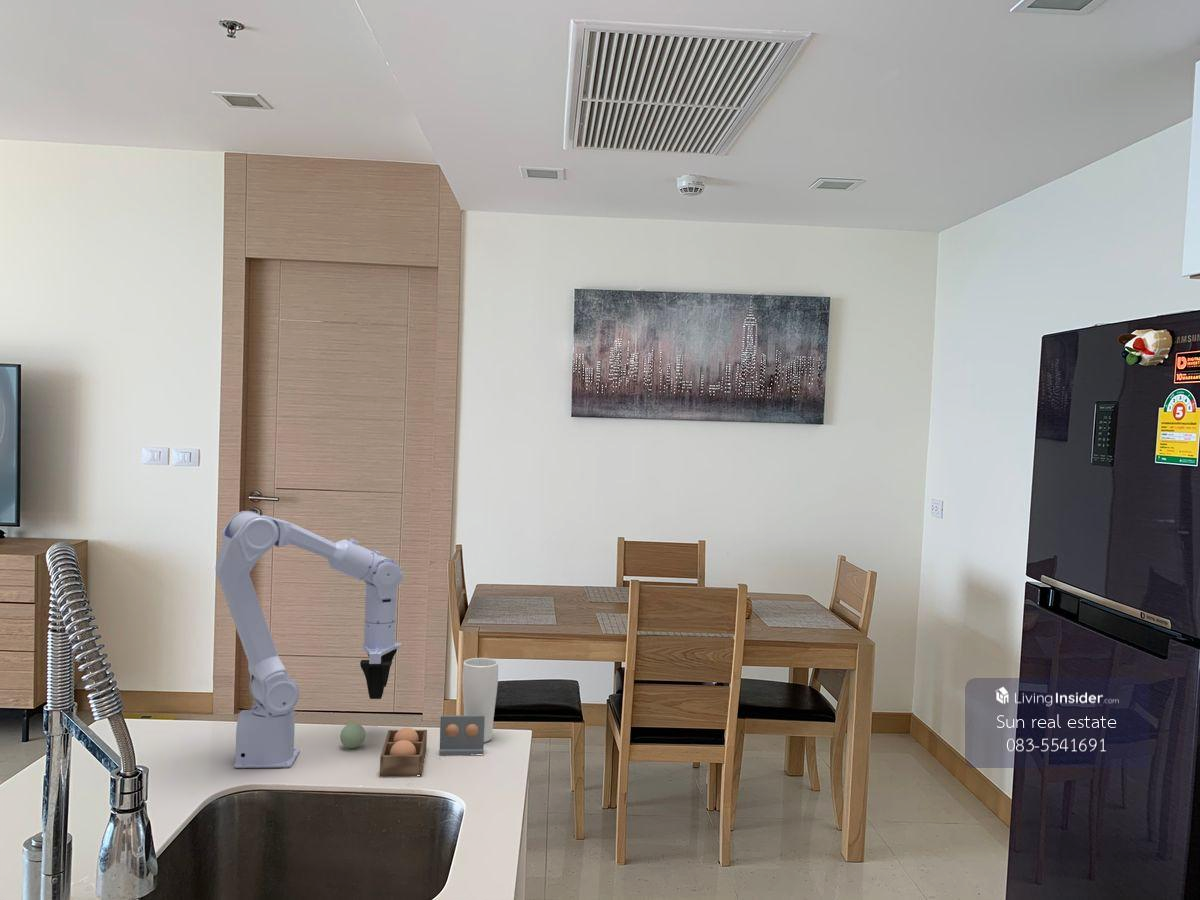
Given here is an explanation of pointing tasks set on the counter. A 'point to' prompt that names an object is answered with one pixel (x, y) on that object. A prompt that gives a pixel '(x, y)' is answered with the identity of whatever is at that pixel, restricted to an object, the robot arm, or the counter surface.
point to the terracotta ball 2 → (403, 748)
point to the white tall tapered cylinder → (480, 690)
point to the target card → (462, 735)
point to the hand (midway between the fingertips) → (378, 692)
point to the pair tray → (403, 757)
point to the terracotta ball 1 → (406, 735)
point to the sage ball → (352, 735)
